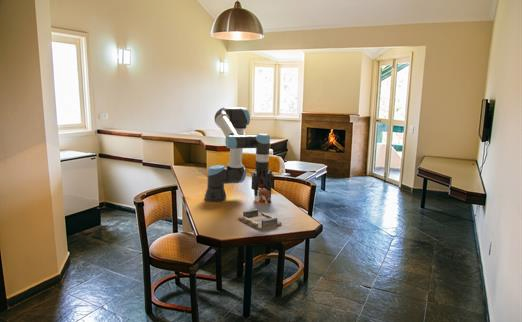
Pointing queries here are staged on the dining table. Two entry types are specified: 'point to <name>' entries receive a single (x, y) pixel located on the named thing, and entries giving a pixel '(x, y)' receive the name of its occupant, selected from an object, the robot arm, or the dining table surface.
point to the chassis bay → (259, 219)
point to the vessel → (262, 188)
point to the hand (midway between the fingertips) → (260, 200)
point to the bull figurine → (264, 194)
